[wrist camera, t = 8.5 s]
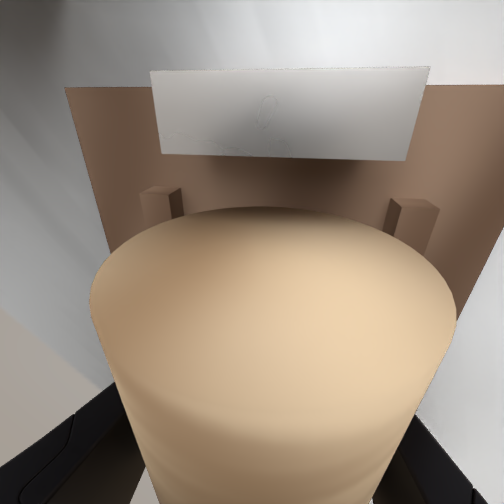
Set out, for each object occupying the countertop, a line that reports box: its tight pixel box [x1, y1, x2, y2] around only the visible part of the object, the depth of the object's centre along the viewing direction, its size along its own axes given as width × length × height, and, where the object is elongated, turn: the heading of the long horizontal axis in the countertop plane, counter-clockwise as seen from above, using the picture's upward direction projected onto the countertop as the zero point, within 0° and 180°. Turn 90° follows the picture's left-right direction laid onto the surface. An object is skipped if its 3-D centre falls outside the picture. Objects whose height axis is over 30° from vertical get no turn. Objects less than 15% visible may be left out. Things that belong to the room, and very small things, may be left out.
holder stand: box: [65, 67, 504, 322], centre depth 10 cm, size 14×16×4 cm
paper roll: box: [89, 206, 456, 504], centre depth 7 cm, size 6×10×6 cm, turn 179°
